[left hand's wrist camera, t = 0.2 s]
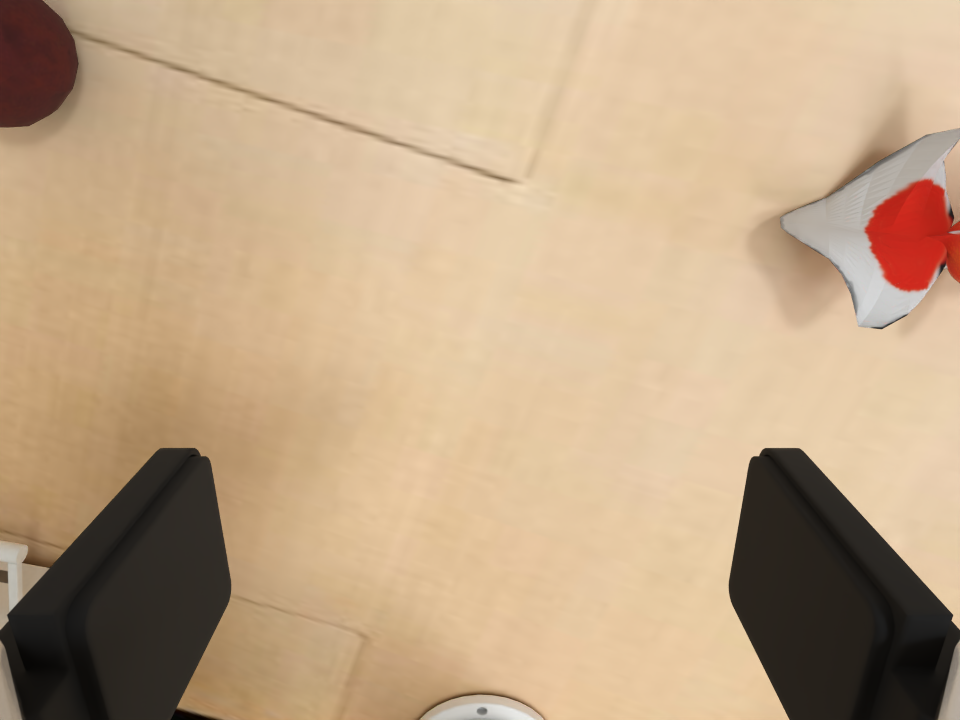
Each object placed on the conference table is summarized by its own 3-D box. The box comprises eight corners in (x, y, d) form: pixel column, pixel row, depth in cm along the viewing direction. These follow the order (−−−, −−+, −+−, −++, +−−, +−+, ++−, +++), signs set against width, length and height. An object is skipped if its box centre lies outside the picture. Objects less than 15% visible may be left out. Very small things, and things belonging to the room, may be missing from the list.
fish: (983, 408, 40) (1090, 394, 30) (737, 293, 44) (762, 250, 35) (1071, 251, 40) (1206, 188, 30) (816, 152, 44) (863, 69, 34)
